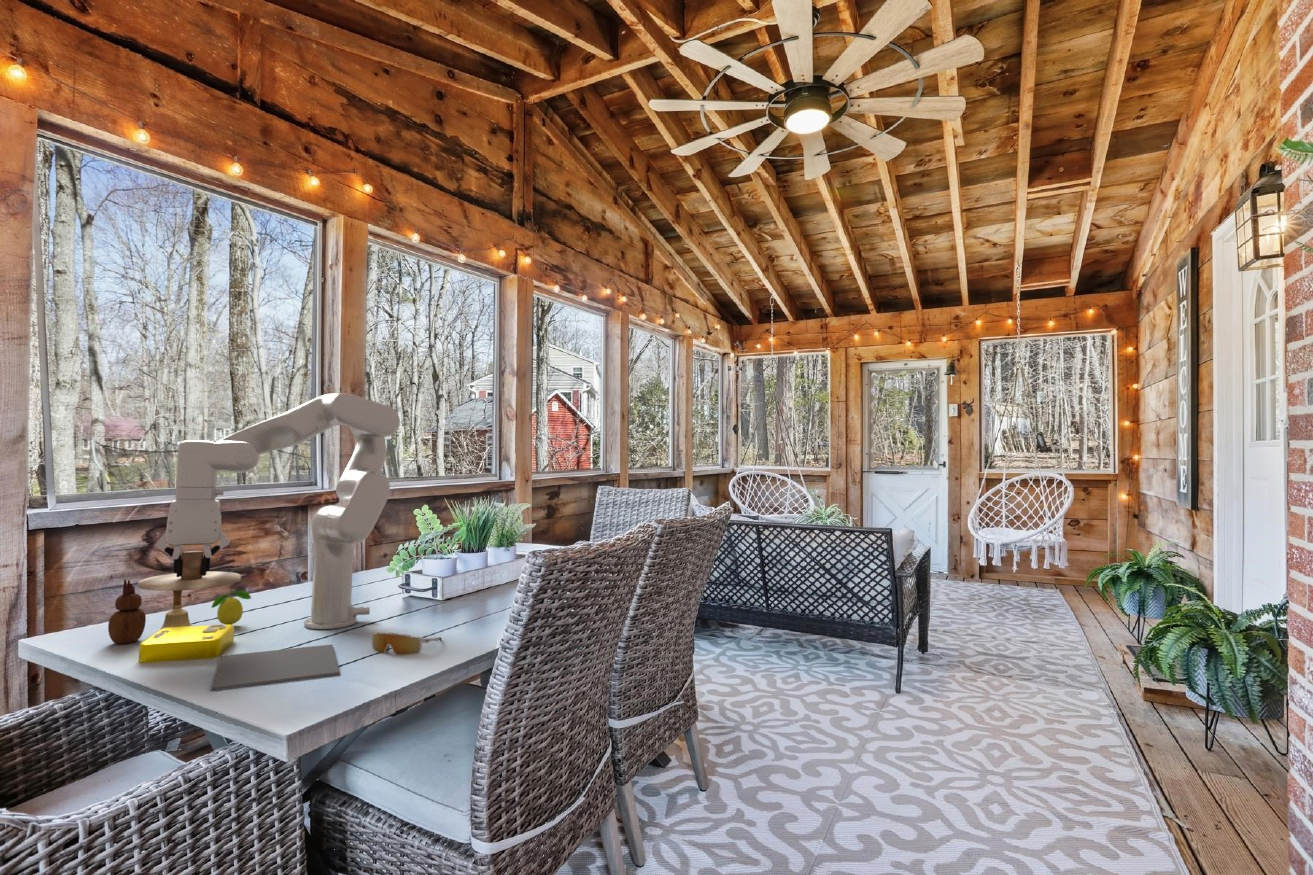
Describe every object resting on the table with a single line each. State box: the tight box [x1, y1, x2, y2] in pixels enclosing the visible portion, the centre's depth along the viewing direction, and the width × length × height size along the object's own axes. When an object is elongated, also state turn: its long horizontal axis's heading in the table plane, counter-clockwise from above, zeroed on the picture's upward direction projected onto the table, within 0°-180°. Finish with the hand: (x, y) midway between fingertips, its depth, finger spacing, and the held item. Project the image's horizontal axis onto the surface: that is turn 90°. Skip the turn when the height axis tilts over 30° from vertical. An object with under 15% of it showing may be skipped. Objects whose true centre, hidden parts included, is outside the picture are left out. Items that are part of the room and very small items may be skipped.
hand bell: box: [159, 573, 193, 630], centre depth 161 cm, size 8×8×16 cm
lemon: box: [211, 587, 252, 625], centre depth 169 cm, size 7×6×10 cm
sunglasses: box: [371, 632, 442, 656], centre depth 156 cm, size 14×15×5 cm
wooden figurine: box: [107, 578, 147, 645], centre depth 153 cm, size 7×6×15 cm
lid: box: [137, 550, 242, 592], centre depth 148 cm, size 19×19×7 cm
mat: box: [210, 643, 341, 692], centre depth 139 cm, size 22×22×1 cm
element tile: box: [138, 623, 235, 664], centre depth 148 cm, size 15×15×5 cm
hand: (191, 574), depth 148 cm, fingers closed on lid, 4 cm apart
